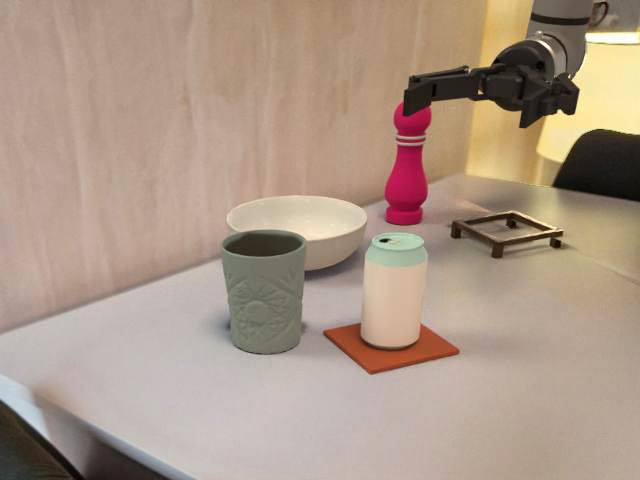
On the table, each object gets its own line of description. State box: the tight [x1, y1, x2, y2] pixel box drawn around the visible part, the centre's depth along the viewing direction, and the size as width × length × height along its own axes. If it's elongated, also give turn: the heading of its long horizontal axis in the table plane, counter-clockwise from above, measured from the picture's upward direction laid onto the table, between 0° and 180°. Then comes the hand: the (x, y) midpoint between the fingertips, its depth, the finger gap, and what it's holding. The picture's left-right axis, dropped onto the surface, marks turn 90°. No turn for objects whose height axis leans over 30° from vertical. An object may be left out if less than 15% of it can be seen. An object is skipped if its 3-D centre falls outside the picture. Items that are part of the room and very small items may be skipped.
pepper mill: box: [383, 101, 433, 226], centre depth 125 cm, size 7×7×20 cm
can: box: [360, 231, 429, 349], centre depth 89 cm, size 7×7×12 cm
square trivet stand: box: [450, 209, 564, 259], centre depth 120 cm, size 12×12×2 cm
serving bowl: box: [225, 194, 369, 272], centre depth 114 cm, size 21×21×7 cm
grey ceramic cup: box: [219, 229, 307, 355], centre depth 91 cm, size 10×10×12 cm
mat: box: [322, 322, 461, 375], centre depth 93 cm, size 12×12×1 cm
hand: (463, 108), depth 84 cm, fingers open, 13 cm apart
